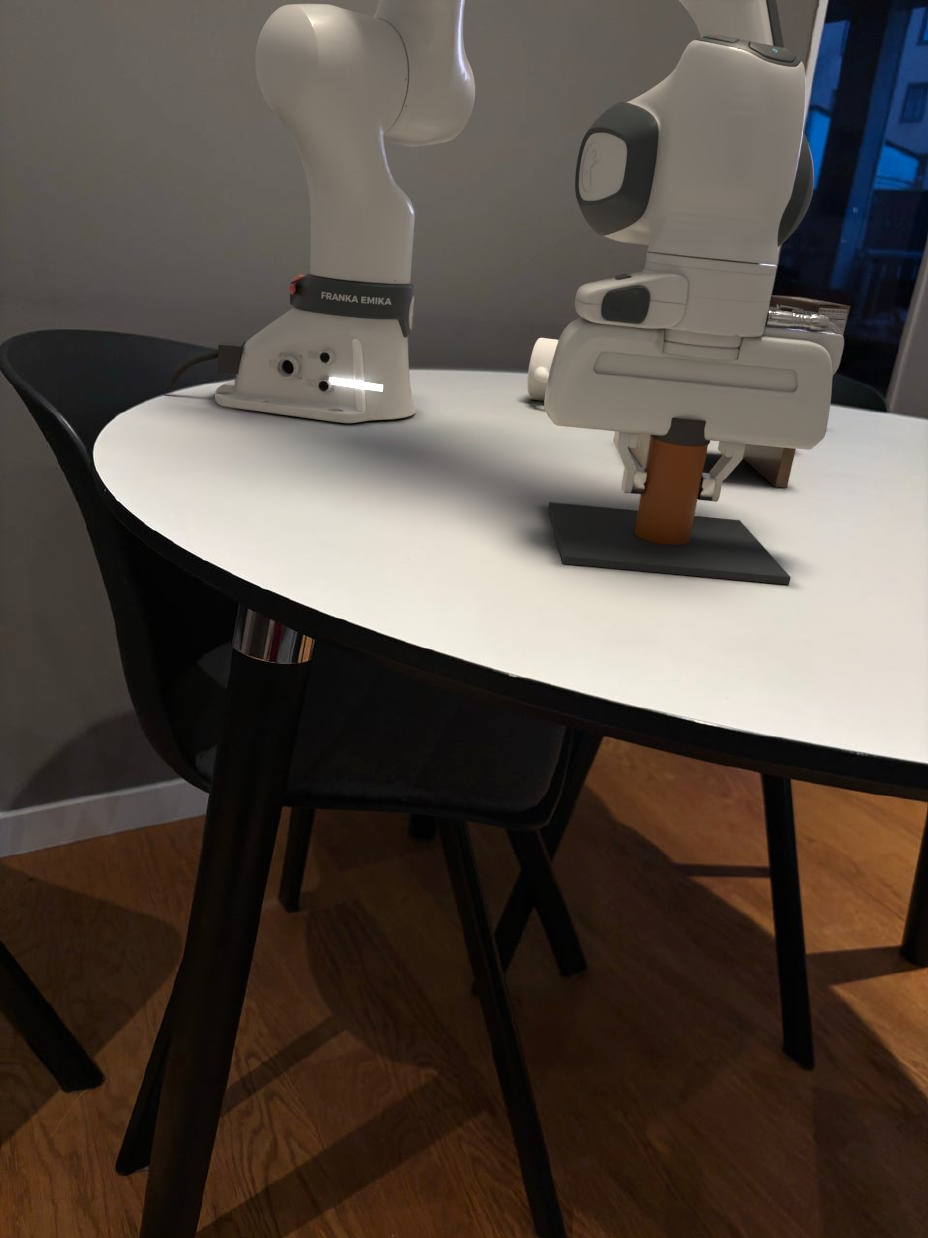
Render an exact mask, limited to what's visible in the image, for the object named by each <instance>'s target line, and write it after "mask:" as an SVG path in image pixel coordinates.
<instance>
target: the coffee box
mask: <svg viewBox="0 0 928 1238" xmlns="http://www.w3.org/2000/svg"><path fill="white" fill-rule="evenodd" d="M769 307H779V308H788V309H796V310H804V311H811V312H817V313H822V314H825V316H826V317H828V318H829V322H831V323H833V324H835V325H836V326H837V327H838V328H839V329H840V330H841V332H842V334H843V335H844V334H845V333H844V332H845V328H846V325H847V321H848V317H849V313H850V310H851V306H850V305H846V304H842V303H836V302H830V301H824V300H818V299H813V298H808V297H802V296H790V295H773V294H771V299H770V303H769ZM822 332H827V333H834V332H833V331H832V330H831V329H829V328H828V329H827V330H826V331H822ZM833 377H834V375H833V376H832V379H834V378H833Z"/></svg>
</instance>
